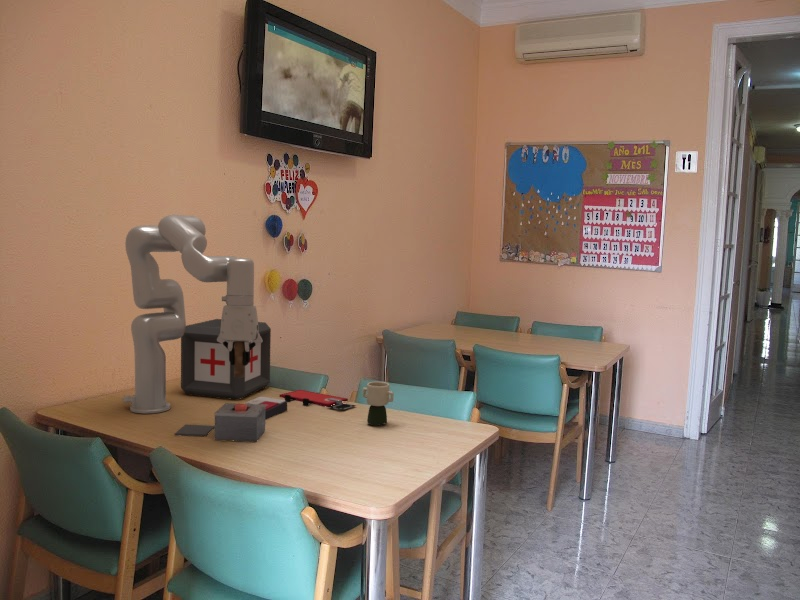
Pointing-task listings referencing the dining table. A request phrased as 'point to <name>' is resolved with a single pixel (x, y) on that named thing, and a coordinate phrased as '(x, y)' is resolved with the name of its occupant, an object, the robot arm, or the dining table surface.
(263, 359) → the first aid kit
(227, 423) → the guard box
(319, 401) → the red board with handle
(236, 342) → the brown cylinder
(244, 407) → the red ball
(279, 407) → the calculator
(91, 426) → the dining table surface
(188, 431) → the rest pad
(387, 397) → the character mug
